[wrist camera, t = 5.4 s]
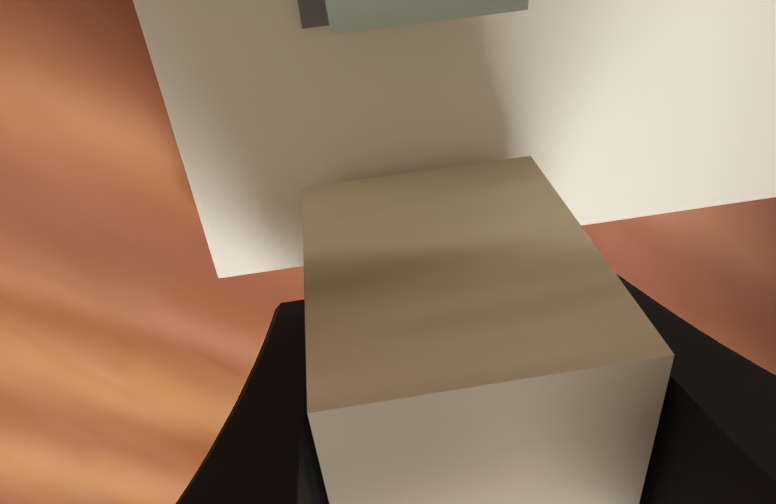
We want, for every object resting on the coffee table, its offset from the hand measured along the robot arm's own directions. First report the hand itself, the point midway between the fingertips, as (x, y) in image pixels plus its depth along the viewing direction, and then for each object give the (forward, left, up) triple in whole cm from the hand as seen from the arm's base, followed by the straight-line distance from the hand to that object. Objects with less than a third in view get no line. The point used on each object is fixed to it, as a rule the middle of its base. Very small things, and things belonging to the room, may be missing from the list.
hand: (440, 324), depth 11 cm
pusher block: (0, 0, -2) cm, 2 cm away
